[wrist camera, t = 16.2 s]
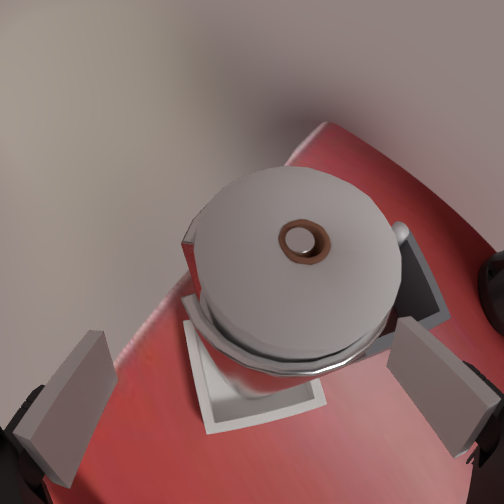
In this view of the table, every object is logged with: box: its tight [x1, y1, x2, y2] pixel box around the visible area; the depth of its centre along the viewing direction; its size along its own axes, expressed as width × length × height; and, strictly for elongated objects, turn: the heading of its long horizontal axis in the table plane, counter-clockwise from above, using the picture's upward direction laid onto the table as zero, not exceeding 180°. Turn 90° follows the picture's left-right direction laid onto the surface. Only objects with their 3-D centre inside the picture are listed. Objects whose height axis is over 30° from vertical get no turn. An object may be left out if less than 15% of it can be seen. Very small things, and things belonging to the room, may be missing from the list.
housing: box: [347, 221, 451, 366], centre depth 29 cm, size 11×12×10 cm
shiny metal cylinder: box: [181, 166, 401, 398], centre depth 18 cm, size 6×6×25 cm
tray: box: [183, 320, 327, 434], centre depth 28 cm, size 12×12×3 cm
